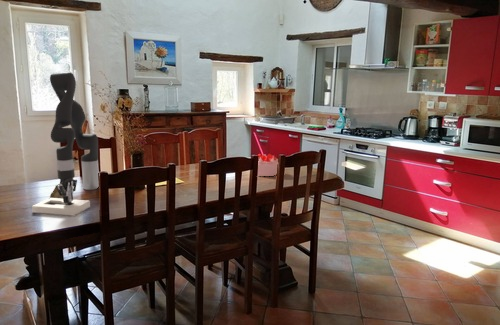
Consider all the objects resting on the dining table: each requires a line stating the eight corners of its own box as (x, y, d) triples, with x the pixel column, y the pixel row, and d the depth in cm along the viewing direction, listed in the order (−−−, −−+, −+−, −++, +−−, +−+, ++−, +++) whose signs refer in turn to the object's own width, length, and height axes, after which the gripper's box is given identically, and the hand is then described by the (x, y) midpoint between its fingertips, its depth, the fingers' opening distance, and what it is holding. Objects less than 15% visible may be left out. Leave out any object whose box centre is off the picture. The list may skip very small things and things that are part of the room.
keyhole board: (51, 204, 200) (50, 197, 199) (90, 207, 197) (89, 200, 196) (32, 213, 186) (31, 206, 186) (73, 216, 183) (73, 209, 182)
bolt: (67, 207, 194) (65, 185, 191) (76, 208, 193) (74, 185, 190) (61, 210, 189) (59, 187, 186) (70, 211, 188) (68, 188, 186)
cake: (275, 178, 267) (276, 158, 264) (247, 176, 271) (248, 156, 268) (279, 172, 285) (280, 153, 282) (254, 170, 290) (254, 151, 287)
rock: (46, 200, 199) (67, 196, 203) (45, 185, 202) (65, 181, 206) (51, 206, 209) (71, 202, 212) (49, 192, 212) (69, 188, 215)
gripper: (67, 164, 194) (70, 197, 197) (49, 171, 180) (52, 205, 184) (81, 165, 193) (83, 198, 196) (63, 172, 179) (66, 206, 183)
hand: (68, 201), depth 190 cm, fingers closed on bolt, 3 cm apart
